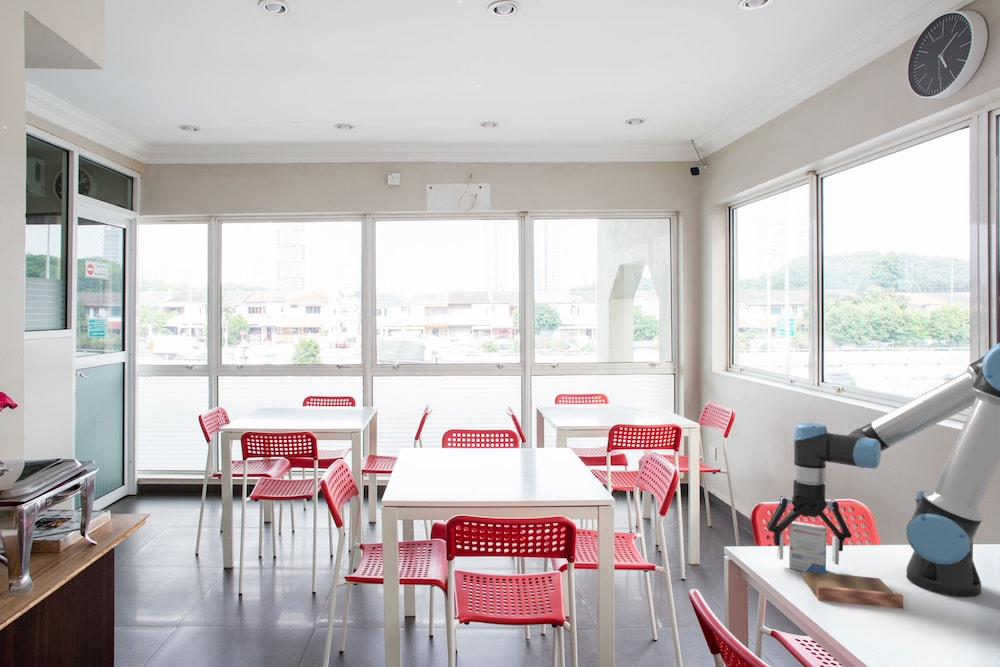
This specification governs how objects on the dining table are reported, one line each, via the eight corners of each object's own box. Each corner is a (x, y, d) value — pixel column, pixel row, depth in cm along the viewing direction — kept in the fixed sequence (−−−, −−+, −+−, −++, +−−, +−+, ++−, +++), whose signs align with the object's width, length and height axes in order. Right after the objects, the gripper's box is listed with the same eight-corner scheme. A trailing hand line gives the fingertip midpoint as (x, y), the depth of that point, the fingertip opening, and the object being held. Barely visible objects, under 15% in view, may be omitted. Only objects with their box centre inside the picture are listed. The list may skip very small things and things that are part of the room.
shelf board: (879, 584, 148) (879, 572, 148) (903, 608, 135) (903, 595, 135) (801, 576, 152) (802, 565, 152) (818, 600, 139) (818, 587, 139)
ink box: (826, 569, 157) (827, 525, 157) (825, 576, 153) (826, 530, 153) (790, 562, 162) (791, 519, 162) (788, 568, 157) (789, 524, 157)
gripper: (855, 480, 158) (853, 559, 158) (756, 474, 163) (754, 550, 164) (866, 488, 151) (864, 570, 151) (762, 481, 156) (760, 560, 156)
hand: (807, 560), depth 157 cm, fingers open, 13 cm apart
